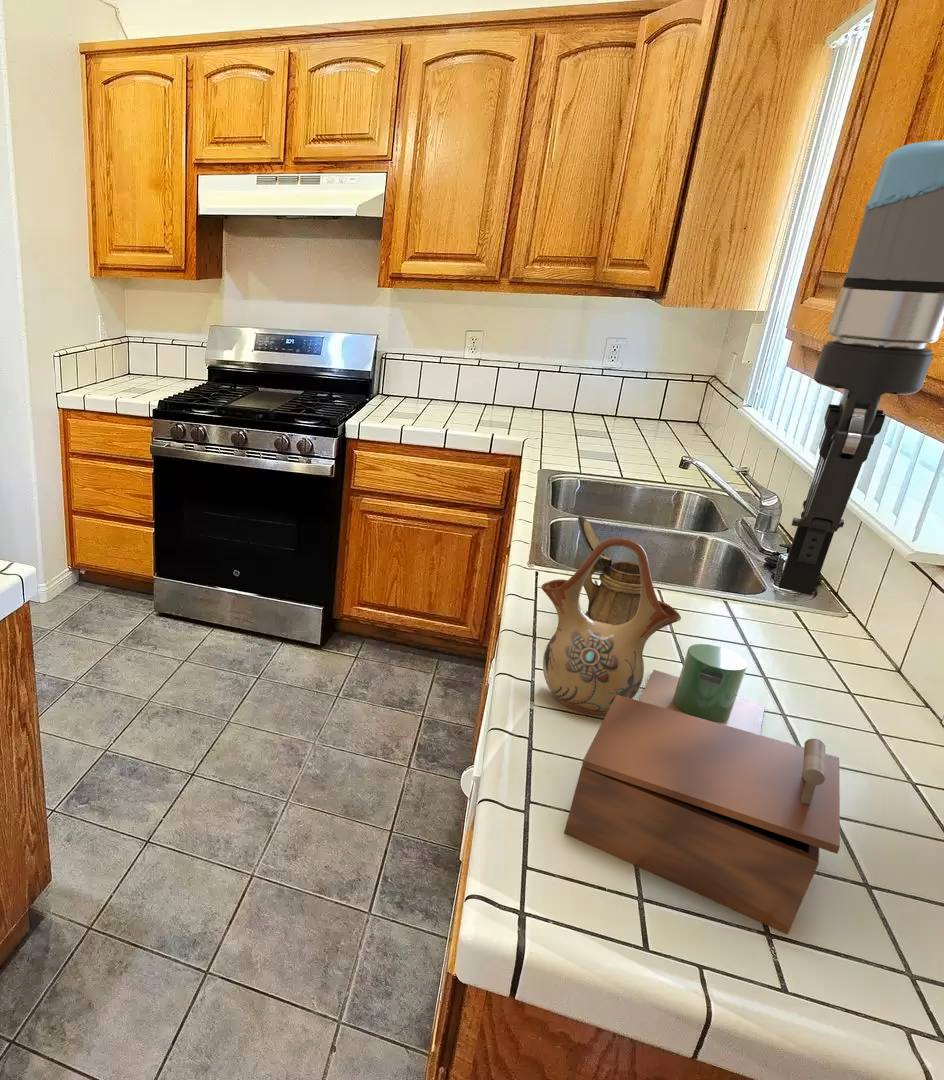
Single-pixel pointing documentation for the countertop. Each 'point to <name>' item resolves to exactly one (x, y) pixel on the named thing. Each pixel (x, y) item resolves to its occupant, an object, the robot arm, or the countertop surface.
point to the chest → (695, 848)
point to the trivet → (661, 694)
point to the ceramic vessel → (600, 640)
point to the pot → (709, 682)
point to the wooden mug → (610, 584)
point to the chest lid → (722, 770)
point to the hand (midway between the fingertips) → (795, 588)
